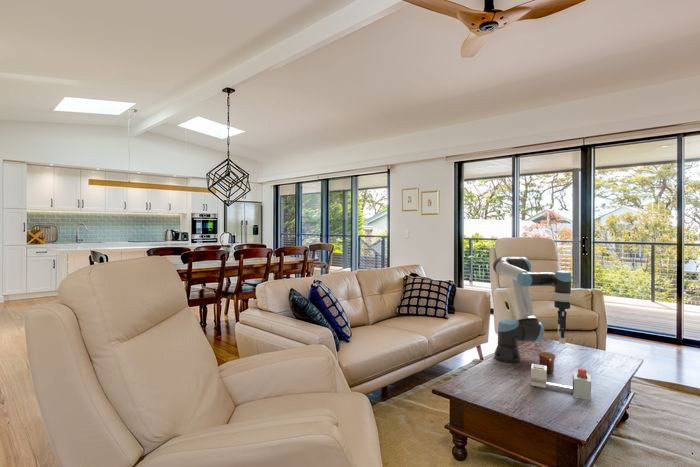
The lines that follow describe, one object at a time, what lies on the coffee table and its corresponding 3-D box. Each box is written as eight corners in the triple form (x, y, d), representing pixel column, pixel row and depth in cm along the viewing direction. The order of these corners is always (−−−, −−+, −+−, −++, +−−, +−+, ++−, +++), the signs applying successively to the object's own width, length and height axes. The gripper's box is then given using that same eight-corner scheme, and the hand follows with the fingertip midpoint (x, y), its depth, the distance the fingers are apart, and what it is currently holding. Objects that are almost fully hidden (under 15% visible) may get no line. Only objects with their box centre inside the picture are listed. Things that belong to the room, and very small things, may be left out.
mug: (535, 369, 221) (536, 351, 220) (552, 370, 219) (552, 352, 218) (541, 377, 209) (542, 358, 208) (559, 379, 207) (559, 360, 207)
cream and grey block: (530, 384, 196) (531, 367, 196) (531, 379, 203) (531, 362, 202) (545, 387, 193) (546, 369, 193) (546, 382, 199) (546, 365, 199)
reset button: (578, 376, 188) (578, 370, 188) (577, 373, 191) (577, 367, 191) (586, 377, 186) (586, 371, 186) (586, 375, 189) (586, 369, 189)
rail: (530, 385, 198) (530, 380, 198) (531, 383, 201) (531, 379, 200) (575, 394, 189) (575, 389, 189) (575, 392, 191) (575, 387, 191)
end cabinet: (572, 396, 186) (573, 378, 186) (572, 388, 195) (572, 371, 195) (590, 400, 183) (591, 381, 182) (589, 392, 192) (589, 374, 191)
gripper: (572, 305, 192) (571, 348, 192) (568, 296, 214) (567, 334, 215) (555, 304, 195) (554, 345, 196) (553, 295, 217) (552, 332, 218)
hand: (561, 340), depth 205 cm, fingers open, 13 cm apart
